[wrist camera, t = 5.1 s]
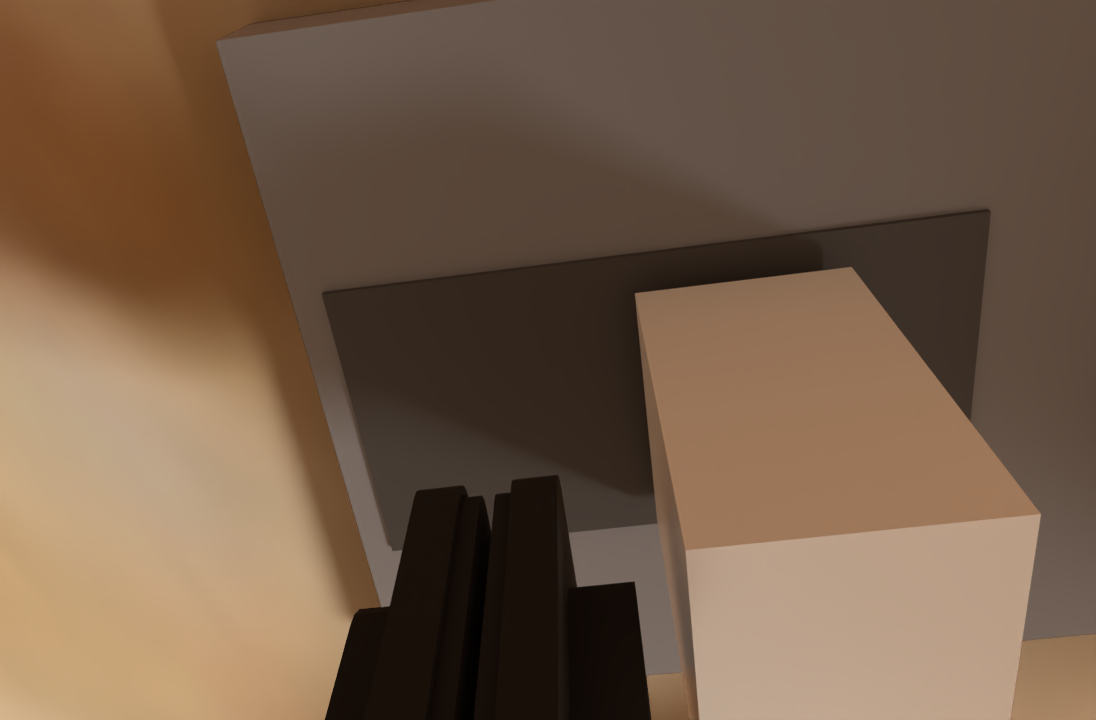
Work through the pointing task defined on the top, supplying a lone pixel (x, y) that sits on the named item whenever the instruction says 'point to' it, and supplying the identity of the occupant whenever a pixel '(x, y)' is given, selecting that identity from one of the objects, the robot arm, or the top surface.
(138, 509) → the top surface
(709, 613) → the block
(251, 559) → the top surface
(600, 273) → the grey tray
